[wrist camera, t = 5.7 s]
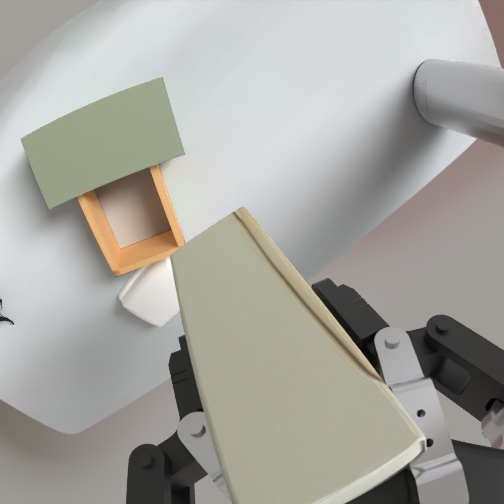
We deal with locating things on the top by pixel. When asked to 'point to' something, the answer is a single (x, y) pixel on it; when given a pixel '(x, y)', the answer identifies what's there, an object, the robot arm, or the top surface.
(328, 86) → the top surface
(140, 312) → the soap
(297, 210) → the top surface
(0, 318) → the creature
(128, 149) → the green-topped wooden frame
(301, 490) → the skincare box
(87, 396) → the top surface
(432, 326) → the robot arm
